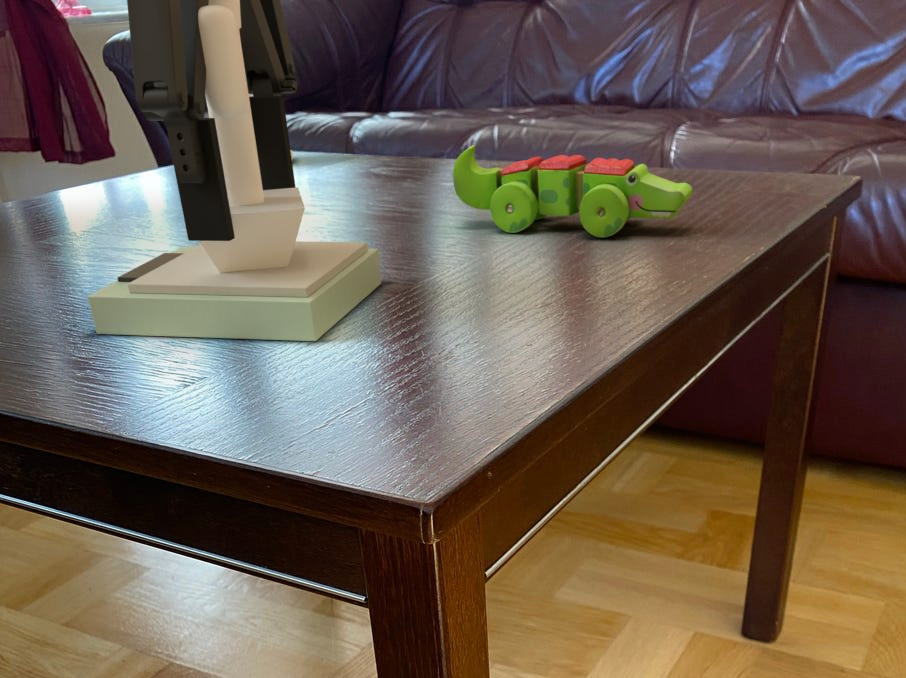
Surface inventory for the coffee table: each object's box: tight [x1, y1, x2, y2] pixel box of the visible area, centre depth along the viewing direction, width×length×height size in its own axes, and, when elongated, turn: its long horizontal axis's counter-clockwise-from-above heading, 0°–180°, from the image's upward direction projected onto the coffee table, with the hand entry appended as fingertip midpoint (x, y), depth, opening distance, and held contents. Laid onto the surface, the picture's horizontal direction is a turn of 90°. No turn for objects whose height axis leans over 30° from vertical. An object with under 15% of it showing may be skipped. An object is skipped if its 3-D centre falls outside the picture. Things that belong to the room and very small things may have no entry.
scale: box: [87, 241, 382, 342], centre depth 68 cm, size 15×13×3 cm
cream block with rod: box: [198, 0, 306, 273], centre depth 63 cm, size 7×9×15 cm
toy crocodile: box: [452, 144, 693, 238], centre depth 83 cm, size 20×7×6 cm, turn 66°
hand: (246, 220), depth 65 cm, fingers closed on cream block with rod, 9 cm apart
